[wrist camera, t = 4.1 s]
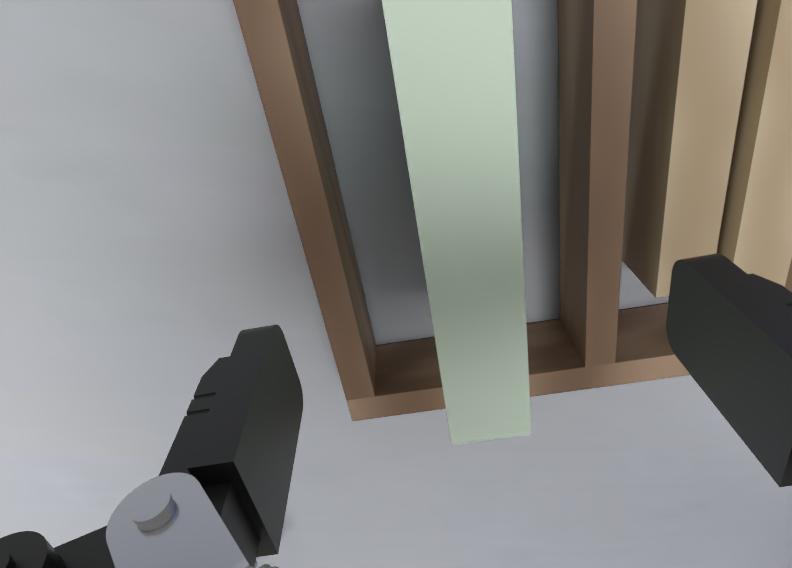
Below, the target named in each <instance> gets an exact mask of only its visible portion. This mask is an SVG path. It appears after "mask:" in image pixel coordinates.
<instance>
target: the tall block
mask: <svg viewBox="0 0 792 568" xmlns="http://www.w3.org/2000/svg"><path fill="white" fill-rule="evenodd" d="M382 5H383V11H384V18H385V24H386V30H387V37H388V43H389V50H390V56H391V62H392V69H393V75H394V81H395V88H396V94H397V100H398V107H399V113H400V120H401V126H402V132H403V139H404V145H405V151H406V158H407V164H408V171H409V177H410V183H411V190H412V196H413V202H414V209H415V215H416V221H417V228H418V234H419V241H420V247H421V253H422V260H423V266H424V272H425V279H426V285H427V292H428V298H429V304H430V311H431V317H432V323H433V330H434V336H435V342H436V349H437V355H438V362H439V368H440V374H441V381H442V387H443V393H444V400H445V406H446V413H447V419H448V425H449V432H450V438H451V444H452V445H457V444H465V443H472V442H480V441H487V440H495V439H503V438H510V437H518V436H526V435H532V432H531V411H530V389H529V368H528V346H527V325H526V303H525V282H524V260H523V239H522V217H521V196H520V174H519V152H518V131H517V109H516V88H515V66H514V45H513V23H512V2H511V0H382Z"/></svg>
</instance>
